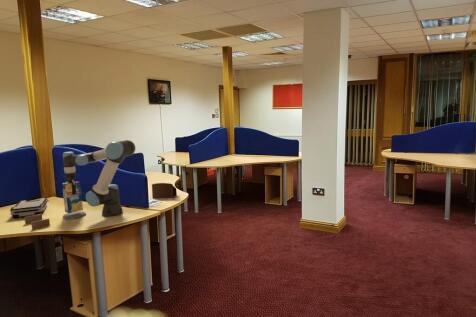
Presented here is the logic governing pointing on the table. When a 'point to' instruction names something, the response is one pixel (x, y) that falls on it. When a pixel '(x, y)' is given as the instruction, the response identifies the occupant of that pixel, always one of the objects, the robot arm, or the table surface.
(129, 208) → the table surface
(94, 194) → the robot arm
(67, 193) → the beverage box
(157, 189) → the letter holder
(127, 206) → the table surface
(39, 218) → the walnut slot
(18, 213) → the office tray
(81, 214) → the slate coaster
